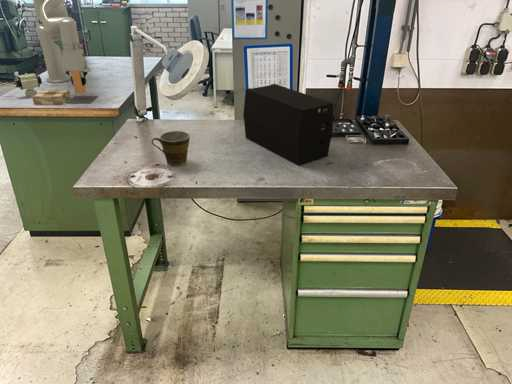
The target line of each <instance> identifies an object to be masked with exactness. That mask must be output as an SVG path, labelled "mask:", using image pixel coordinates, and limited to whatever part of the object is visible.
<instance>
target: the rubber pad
mask: <svg viewBox="0 0 512 384" xmlns="http://www.w3.org/2000/svg"><path fill="white" fill-rule="evenodd" d="M98 97H99V95H74V96H73V97H71V98H69V99H68V100H67V101H65V104H81V105H83V104H85V105H86V104H89V105H90V104H91V103H93V102H94V101H95V100H96V99H97V98H98Z"/></svg>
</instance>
